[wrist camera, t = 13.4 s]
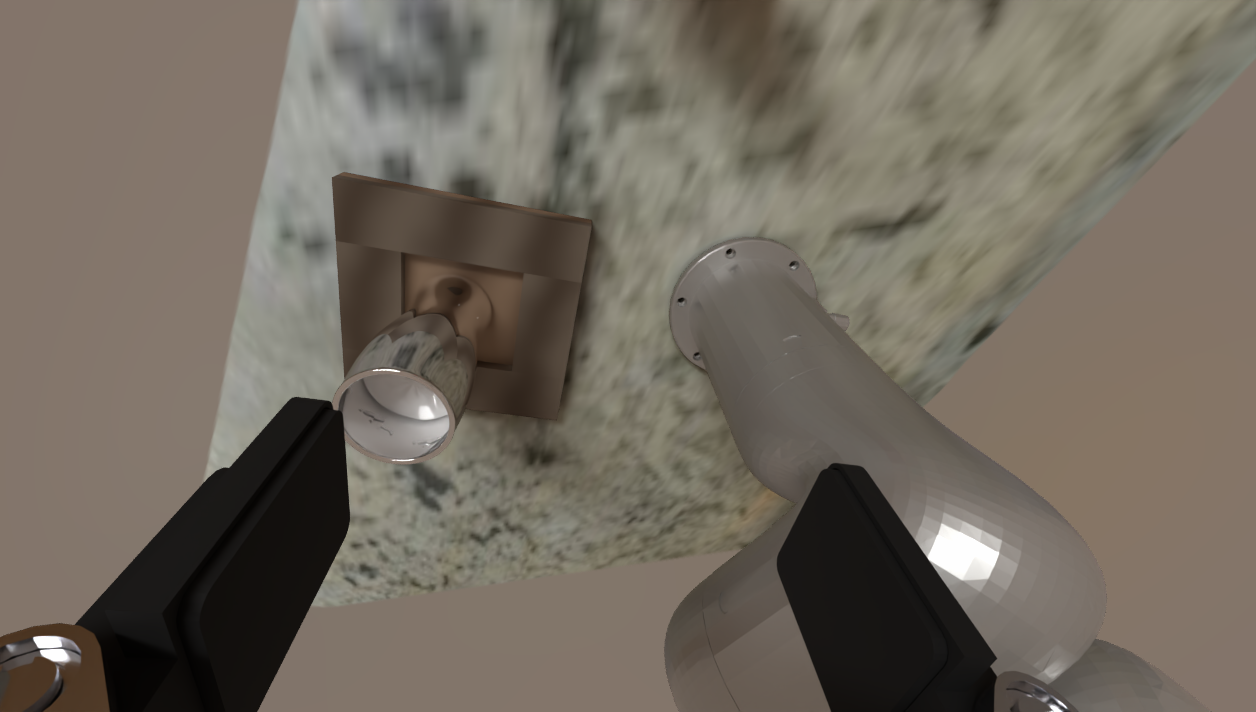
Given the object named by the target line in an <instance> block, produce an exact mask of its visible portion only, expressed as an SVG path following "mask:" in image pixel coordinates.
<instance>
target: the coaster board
mask: <svg viewBox="0 0 1256 712" xmlns="http://www.w3.org/2000/svg"><path fill="white" fill-rule="evenodd" d="M332 187H333V203H334V219H335V235H336V251H337V267H338V283H339V299H340V315H341V331H342V347H343V363H344V379H345V377H346V375H347V374H348V372H349V370H350V369H351V367H352V365H353V364H354V362H355V360H356V359H357V358H358V356H359V355H360V353H361V352H362V350H363V349H364V348H365V347H366V345H367V344H368V343H369V342H370V341H371V340H372V339H373V337H374V336H375V335H376V334H377V333H379V332H380V331H381V330H382V329H383V328H385V327H386V326H387V325H388V324H390V323H391V322H392V321H394V320H395V319H397V318H398V317H400V316H401V315H403V314H404V313H406V312H407V311H409V310H410V309H411V308H412V305H413V301H414V297H415V295H416V292H417V291H418V289H419V287H420V286H421V285H422V284H423V283H424V282H425V281H427V280H428V279H430V278H432V277H434V276H437V275H442V274H454V275H459V276H463V277H466V278H468V279H470V280H472V281H473V282H475V283H476V284H477V285H479V286H480V287H481V288H482V289H483V291H484V292H485V293H486V295H487V296H488V298H489V301H490V303H491V308H492V319H491V322H490V325H489V327H488V329H487V331H486V332H485V333H484V334H483V336H482V337H481V338H480V339H479V340H478V345H477V371H476V379H475V384H474V387H473V391H472V394H471V398H470V400H469V403H468V405H467V408H466V409H470V410H478V411H486V412H494V413H502V414H510V415H518V416H526V417H534V418H542V419H550V420H557V417H558V412H559V406H560V401H561V395H562V389H563V384H564V378H565V373H566V367H567V362H568V356H569V350H570V345H571V339H572V334H573V328H574V323H575V317H576V312H577V306H578V300H579V295H580V289H581V284H582V278H583V273H584V267H585V262H586V256H587V250H588V245H589V239H590V234H591V228H592V223H591V220H589V219H584V218H579V217H574V216H568V215H563V214H558V213H553V212H548V211H542V210H537V209H532V208H527V207H522V206H517V205H511V204H506V203H501V202H496V201H491V200H485V199H480V198H475V197H470V196H465V195H460V194H454V193H449V192H444V191H439V190H434V189H428V188H423V187H418V186H413V185H408V184H403V183H397V182H392V181H387V180H382V179H377V178H371V177H366V176H361V175H356V174H351V173H345V172H343V173H341V174H339V175H336V176H334V177H332Z"/></svg>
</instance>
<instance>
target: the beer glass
mask: <svg viewBox="0 0 1256 712" xmlns="http://www.w3.org/2000/svg"><path fill="white" fill-rule="evenodd" d="M491 319H492V308H491V303H490V301H489V298H488V296H487V295H486V293H485V292H484V291H483V289H482V288H481V287H480V286H479V285H477V284H476V283H475V282H473V281H472V280H470V279H468V278H466V277H463V276H459V275H454V274H442V275H437V276H434V277H432V278H430V279H428V280H427V281H425V282H424V283H423V284H422V285H421V286H420V287H419V289H418V291H417V292H416V295H415V297H414V301H413V305H412V308H411V309H410V310H409V311H407V312H406V313H404V314H403V315H401V316H400V317H398V318H397V319H395V320H394V321H392V322H391V323H390V324H388V325H387V326H386V327H385V328H383V329H382V330H381V331H380V332H379V333H377V334H376V335H375V336H374V337H373V339H372V340H371V341H370V342H369V343H368V344H367V345H366V347H365V348H364V349H363V350H362V352H361V353H360V355H359V356H358V358H357V359H356V360H355V362H354V364H353V365H352V367H351V369H350V370H349V372H348V374H347V375H346V377H345V379H344V381H343V383H342V384H341V386H340V387H339V388H338V389H337V391H336V393H335V395H334V398H333V401H332V405H333V409H334V410H339V411H341V412H342V413H343V419H344V434H345V441H346V442H347V443H348V444H350V445H351V446H352V447H353V448H354V449H356V450H357V451H359V452H360V453H362V454H364V455H366V456H368V457H370V458H373V459H375V460H378V461H382V462H386V463H391V464H415V463H420V462H423V461H426V460H429V459H431V458H433V457H435V456H437V455H438V454H440V453H441V452H442V451H443V450H444V449H445V448H446V447H447V446H448V445H449V443H450V442H451V440H452V438H453V435H454V432H455V430H456V428H457V426H458V424H459V422H460V420H461V418H462V416H463V414H464V412H465V410H466V408H467V405H468V403H469V400H470V398H471V394H472V391H473V387H474V384H475V379H476V371H477V345H478V340H479V339H480V338H481V337H482V336H483V334H484V333H485V332H486V331H487V329H488V327H489V325H490V322H491Z"/></svg>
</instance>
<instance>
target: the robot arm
mask: <svg viewBox="0 0 1256 712" xmlns="http://www.w3.org/2000/svg"><path fill="white" fill-rule="evenodd" d="M728 249H731V251H730V252H729V253H726V251H727V250H728ZM792 261H793V263H792V264H791V265H789V264H790V263H791V262H792ZM679 298H683V299H682V300H680V301H679V300H678V299H679ZM669 320H670V327H671V330H672V334H673V337H674V339H675V341H676V343H677V346H678V347H679V349H680V350H681V351H682V353H683V354H684V355H685V356H686V357H687V358H688V359H689V360H690V361H691V362H692V363H693V364H695V365H697V366H699V367H700V368H702V369H704V370H706V371H707V373H708V376H709V378H710V380H711V383H712V385H713V388H714V390H715V393H716V395H717V398H718V400H719V403H720V405H721V408H722V410H723V413H724V415H725V418H726V420H727V423H728V425H729V428H730V430H731V433H732V435H733V438H734V440H735V443H736V445H737V447H738V450H739V452H740V454H741V457H742V459H743V460H744V462H745V464H746V466H747V467H748V469H749V470H750V471H751V473H752V474H753V475H754V476H755V477H756V478H757V479H758V480H759V481H760V482H761V483H762V484H763V485H765V486H766V487H767V488H768V489H770V490H771V491H773V492H774V493H776V494H778V495H780V496H782V497H784V498H786V499H788V500H790V501H792V502H794V503H797V504H796V505H795V506H794V507H793V508H792V509H791V510H789V511H788V512H787V513H786V514H785V515H783V516H782V517H781V518H780V519H778V520H777V521H776V522H775V523H774V524H773V525H772V526H771V527H770V528H769V529H768V530H767V531H765V532H764V533H763V534H761V535H760V536H759V537H758V538H756V539H755V540H754V541H752V542H751V543H750V544H749V545H747V546H746V547H745V548H743V549H742V550H741V551H740V552H738V553H737V554H736V555H735V556H733V557H732V558H731V559H729V560H728V561H727V562H726V563H724V564H723V565H722V566H721V567H719V568H718V569H717V570H715V571H714V572H713V573H712V574H711V575H710V576H709V577H707V578H706V579H705V580H704V581H702V582H701V583H700V584H699V585H698V586H697V587H695V588H694V589H693V590H692V591H691V592H690V593H689V594H688V595H687V596H686V597H685V598H684V600H683V601H682V602H681V603H680V605H679V606H678V608H677V609H676V610H675V612H674V614H673V616H672V618H671V620H670V623H669V625H668V628H667V633H666V639H665V647H664V653H665V654H664V656H665V667H666V674H667V678H668V682H669V686H670V689H671V692H672V695H673V697H674V701H675V703H676V706H677V708H678V711H679V712H1211V711H1210V710H1209V709H1208V708H1207V707H1205V706H1204V705H1203V704H1202V703H1201V702H1200V701H1198V700H1197V699H1196V698H1195V697H1194V696H1193V695H1191V694H1190V693H1189V692H1188V691H1187V690H1186V689H1184V688H1183V687H1182V686H1180V685H1179V684H1178V683H1177V682H1175V681H1174V680H1173V679H1171V678H1170V677H1169V676H1168V675H1166V674H1165V673H1163V672H1162V671H1161V670H1160V669H1158V668H1156V667H1155V666H1153V665H1151V664H1150V663H1149V662H1147V661H1145V660H1143V659H1142V658H1140V657H1139V656H1137V655H1135V654H1134V653H1132V652H1130V651H1128V650H1126V649H1124V648H1121V647H1118V646H1116V645H1114V644H1111V643H1109V642H1106V641H1103V640H1099V639H1095V638H1096V637H1097V635H1098V633H1099V631H1100V628H1101V626H1102V624H1103V620H1104V617H1105V613H1106V602H1107V594H1106V584H1105V581H1104V577H1103V574H1102V571H1101V569H1100V566H1099V564H1098V562H1097V560H1096V558H1095V556H1094V555H1093V553H1092V551H1091V550H1090V548H1089V546H1088V545H1087V543H1086V542H1085V541H1084V539H1083V538H1082V537H1081V535H1080V534H1079V533H1078V532H1077V530H1075V528H1074V527H1073V526H1072V525H1071V524H1070V523H1069V522H1068V521H1067V520H1066V519H1065V518H1064V517H1063V516H1062V515H1061V514H1060V513H1059V512H1058V511H1057V510H1056V509H1055V508H1054V507H1053V506H1052V505H1051V504H1050V503H1049V502H1048V501H1046V500H1045V499H1044V498H1043V497H1042V496H1040V495H1039V494H1038V493H1036V492H1035V491H1034V490H1033V489H1032V488H1030V487H1029V486H1028V485H1026V484H1025V483H1024V482H1023V481H1022V480H1020V479H1019V478H1018V477H1016V476H1015V475H1014V474H1012V473H1011V472H1009V471H1008V470H1006V469H1005V468H1004V467H1002V466H1001V465H999V464H998V463H996V462H995V461H993V460H992V459H991V458H989V457H988V456H986V455H985V454H984V453H982V452H981V451H979V450H978V449H976V448H975V447H973V446H972V445H971V444H969V443H968V442H967V441H965V440H964V439H962V438H961V437H959V436H958V435H957V434H955V433H954V432H952V431H951V430H950V429H949V428H947V427H946V426H945V425H943V424H942V423H941V422H940V421H938V420H937V419H936V418H935V417H933V416H932V415H931V414H929V413H928V412H927V411H926V410H925V409H923V408H922V407H921V406H920V405H919V404H918V403H917V402H916V401H915V400H914V399H913V398H912V397H911V396H909V395H908V394H907V393H906V392H905V391H904V390H903V389H902V388H901V387H900V386H899V385H898V384H897V383H895V382H894V381H893V380H892V379H891V378H890V377H889V376H888V375H887V374H886V373H885V372H884V371H883V370H882V369H881V368H880V367H879V366H878V365H877V364H876V363H875V362H874V361H873V360H872V359H871V358H870V357H869V356H868V355H867V354H866V353H865V352H864V351H863V350H862V349H861V348H860V347H859V346H858V345H857V344H856V343H855V342H854V341H853V340H852V339H851V338H850V337H849V335H848V334H847V333H846V332H845V331H846V330H847V328H848V326H849V317H848V316H846V315H841V314H835V313H832V314H830V313H827V310H826V309H825V308H824V307H823V306H822V305H821V304H820V303H819V302H818V301H817V292H816V285H815V281H814V278H813V276H812V273H811V271H810V269H809V268H808V266H807V265H806V263H805V262H804V261H803V260H802V259H801V258H800V257H799V256H798V255H797V254H796V253H795V252H794V251H792V250H791V249H790V248H788V247H787V246H785V245H783V244H781V243H779V242H776V241H774V240H771V239H766V238H761V237H742V238H737V239H732V240H728V241H725V242H723V243H720V244H717V245H715V246H713V247H712V248H710V249H708V250H707V251H705V252H703V253H702V254H701V255H699V256H698V257H697V258H696V259H695V260H694V261H692V262H691V263H690V264H689V266H688V267H687V268H686V269H685V271H684V272H683V273H682V274H681V276H680V278H679V280H678V282H677V283H676V285H675V287H674V290H673V293H672V296H671V299H670V307H669ZM696 352H698V353H696ZM349 522H350V509H349V494H348V479H347V464H346V449H345V434H344V419H343V413H342V412H341V411H339V410H334V409H333V405H332V403H331V402H330V401H325V400H317V399H309V398H301V397H294V398H291V399H290V400H289V401H288V402H287V403H286V404H285V405H284V406H283V408H282V409H281V410H280V411H279V412H278V413H277V414H276V416H275V417H274V418H273V419H272V420H271V421H270V422H269V424H268V425H267V426H266V427H265V428H264V429H263V430H262V431H261V433H260V434H259V435H258V436H257V437H256V438H255V439H254V441H253V442H252V443H251V444H250V445H249V446H248V447H247V449H246V450H245V451H244V452H243V453H242V454H241V455H240V456H239V458H238V459H237V460H236V461H235V462H234V463H233V464H232V466H231V467H230V468H222V469H219V470H217V471H216V472H214V473H213V474H212V475H211V476H210V477H209V478H208V479H207V480H206V481H205V482H204V483H203V484H202V485H201V486H200V488H199V489H198V490H197V491H196V492H195V493H194V494H193V495H192V496H191V497H190V499H189V500H188V501H187V502H186V503H185V504H184V505H183V506H182V507H181V508H180V509H179V511H178V512H177V513H176V514H175V515H174V516H173V517H172V518H171V520H169V522H168V523H167V524H166V525H165V526H164V527H163V528H162V529H161V530H160V532H159V533H158V534H157V535H156V536H155V537H154V538H153V539H152V540H151V541H150V542H149V543H148V545H147V546H146V547H145V548H144V549H143V550H142V551H141V552H140V553H139V554H138V556H137V557H136V558H135V559H134V560H133V561H132V562H131V563H130V564H129V565H128V567H127V568H126V569H125V570H124V571H123V572H122V573H121V574H120V575H119V576H118V578H117V579H116V580H115V581H114V582H113V583H112V584H111V585H110V587H108V589H107V590H106V591H105V592H104V593H103V594H102V595H101V596H100V597H99V598H98V600H97V601H96V602H95V603H94V604H93V605H92V606H91V607H90V608H89V609H88V611H87V612H86V613H85V614H84V615H83V616H82V617H81V618H80V619H79V620H78V622H77V623H76V624H75V625H70V624H62V623H57V624H49V625H40V626H33V627H30V628H27V629H23V630H20V631H17V632H13V633H10V634H6V635H4V636H2V637H0V712H257V711H258V709H259V707H260V705H261V703H262V701H263V699H264V697H265V695H266V693H267V691H268V689H269V687H270V685H271V683H272V681H273V679H274V677H275V675H276V674H277V672H278V670H279V668H280V666H281V664H282V662H283V660H284V658H285V656H286V654H287V652H288V650H289V648H290V646H291V644H292V642H293V640H294V638H295V636H296V634H297V632H298V630H299V628H300V626H301V623H302V622H303V620H304V618H305V616H306V614H307V612H308V610H309V608H310V606H311V604H312V602H313V600H314V598H315V596H316V594H317V592H318V590H319V588H320V586H321V584H322V582H323V580H324V578H325V576H326V575H327V573H328V571H329V569H330V567H331V565H332V563H333V561H334V559H335V557H336V555H337V553H338V551H339V549H340V547H341V545H342V543H343V541H344V539H345V537H346V534H347V531H348V527H349Z"/></svg>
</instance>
